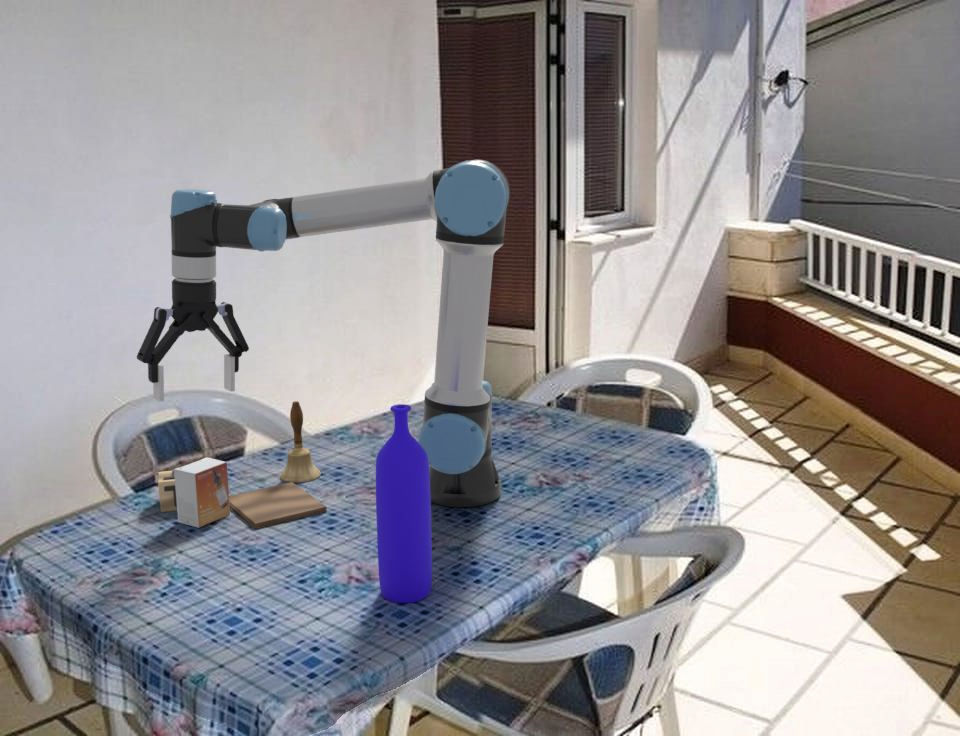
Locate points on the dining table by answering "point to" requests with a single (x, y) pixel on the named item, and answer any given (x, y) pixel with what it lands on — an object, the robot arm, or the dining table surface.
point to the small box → (202, 492)
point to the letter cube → (167, 491)
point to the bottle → (403, 515)
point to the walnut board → (275, 505)
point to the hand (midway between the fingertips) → (194, 394)
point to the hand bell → (298, 453)
